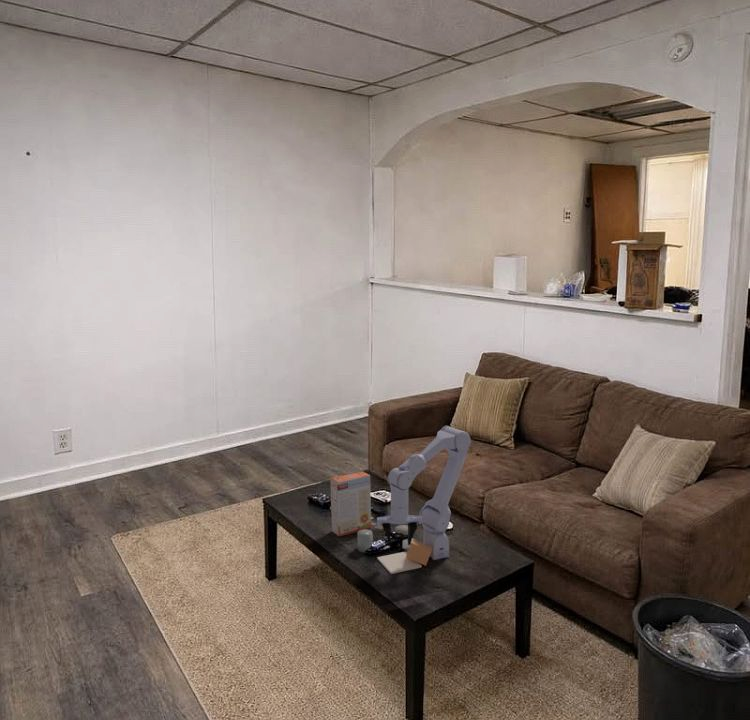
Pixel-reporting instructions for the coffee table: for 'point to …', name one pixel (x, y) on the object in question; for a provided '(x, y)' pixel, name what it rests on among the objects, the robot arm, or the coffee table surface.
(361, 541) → the grey rounded capsule
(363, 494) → the cracker box
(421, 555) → the terracotta block
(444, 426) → the robot arm
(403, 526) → the matte grey ellipsoid
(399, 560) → the ceramic tile
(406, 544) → the metal tin
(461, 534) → the coffee table surface
